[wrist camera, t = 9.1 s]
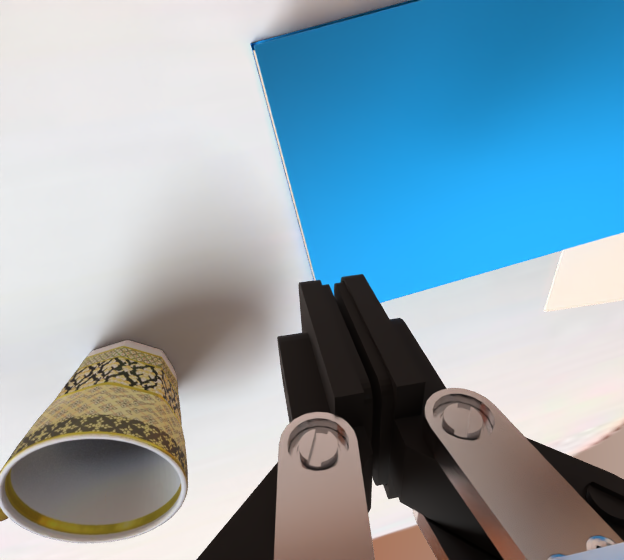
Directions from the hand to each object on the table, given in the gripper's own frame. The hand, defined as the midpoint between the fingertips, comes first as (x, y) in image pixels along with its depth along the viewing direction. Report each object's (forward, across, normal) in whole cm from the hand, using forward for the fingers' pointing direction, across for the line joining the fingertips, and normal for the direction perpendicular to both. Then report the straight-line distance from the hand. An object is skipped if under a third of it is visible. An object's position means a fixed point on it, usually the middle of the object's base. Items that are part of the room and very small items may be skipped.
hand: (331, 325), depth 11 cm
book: (+17, -13, 0) cm, 22 cm away
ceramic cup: (+18, +14, +16) cm, 27 cm away
